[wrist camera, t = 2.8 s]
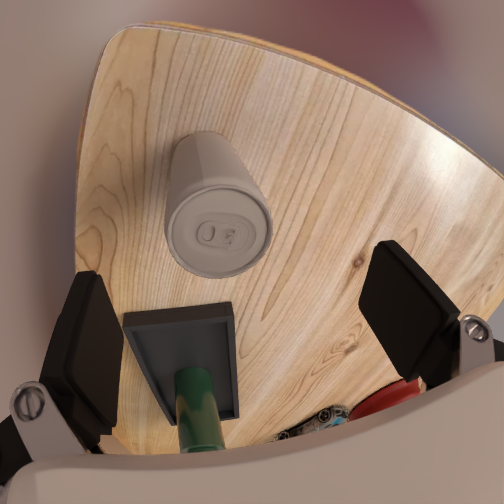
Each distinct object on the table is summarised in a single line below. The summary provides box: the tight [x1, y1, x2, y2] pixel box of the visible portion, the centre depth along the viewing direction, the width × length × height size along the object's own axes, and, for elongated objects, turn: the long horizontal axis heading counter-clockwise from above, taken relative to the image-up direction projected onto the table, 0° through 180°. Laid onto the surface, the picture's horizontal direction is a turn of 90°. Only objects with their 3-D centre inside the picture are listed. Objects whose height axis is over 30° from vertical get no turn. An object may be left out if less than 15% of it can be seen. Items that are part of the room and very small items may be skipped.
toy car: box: [278, 407, 348, 441], centre depth 55 cm, size 7×17×5 cm, turn 134°
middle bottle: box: [174, 367, 225, 453], centre depth 30 cm, size 5×5×16 cm
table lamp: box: [349, 379, 421, 421], centre depth 43 cm, size 20×20×45 cm
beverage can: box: [164, 131, 273, 279], centre depth 17 cm, size 5×5×12 cm
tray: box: [122, 302, 239, 426], centre depth 36 cm, size 12×26×2 cm, turn 179°
